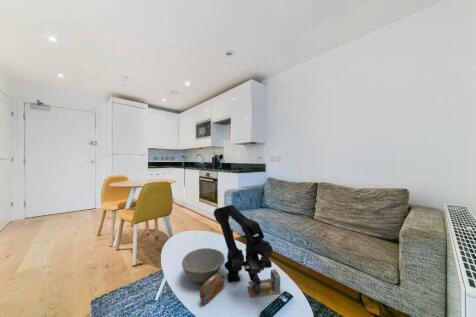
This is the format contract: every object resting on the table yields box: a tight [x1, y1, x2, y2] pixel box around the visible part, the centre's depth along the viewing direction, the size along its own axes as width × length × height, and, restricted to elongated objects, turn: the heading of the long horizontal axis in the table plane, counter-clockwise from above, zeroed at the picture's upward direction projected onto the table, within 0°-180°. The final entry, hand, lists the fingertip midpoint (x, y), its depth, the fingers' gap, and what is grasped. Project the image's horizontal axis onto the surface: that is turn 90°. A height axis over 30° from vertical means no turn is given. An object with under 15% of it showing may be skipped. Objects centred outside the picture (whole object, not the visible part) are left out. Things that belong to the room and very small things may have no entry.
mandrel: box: [246, 269, 281, 299], centre depth 92 cm, size 7×15×8 cm, turn 102°
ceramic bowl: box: [181, 247, 226, 284], centre depth 101 cm, size 22×23×10 cm
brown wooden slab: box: [199, 272, 226, 304], centre depth 88 cm, size 15×3×8 cm, turn 144°
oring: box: [251, 273, 261, 294], centre depth 91 cm, size 6×2×6 cm, turn 12°
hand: (251, 280), depth 90 cm, fingers closed
